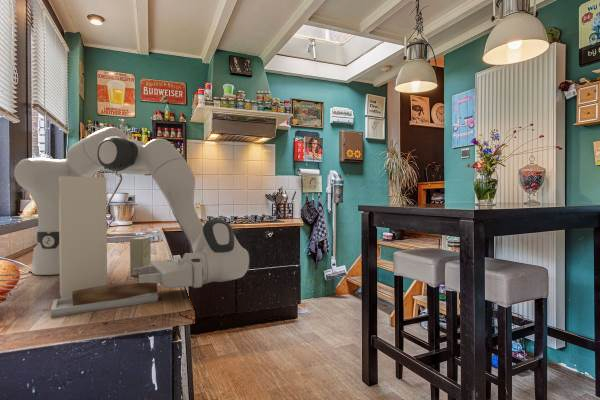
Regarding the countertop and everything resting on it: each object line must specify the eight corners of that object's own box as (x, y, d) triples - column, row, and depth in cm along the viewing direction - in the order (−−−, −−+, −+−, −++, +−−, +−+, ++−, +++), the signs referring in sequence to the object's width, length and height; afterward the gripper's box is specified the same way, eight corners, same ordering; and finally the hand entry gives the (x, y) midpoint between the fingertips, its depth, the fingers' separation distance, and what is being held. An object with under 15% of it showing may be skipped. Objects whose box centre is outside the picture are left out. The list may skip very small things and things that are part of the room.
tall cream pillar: (102, 287, 100) (101, 178, 100) (107, 294, 93) (106, 177, 93) (59, 293, 94) (58, 177, 94) (61, 301, 87) (60, 176, 87)
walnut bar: (155, 289, 92) (154, 276, 92) (157, 291, 89) (156, 279, 89) (73, 304, 83) (72, 290, 82) (73, 308, 80) (72, 294, 80)
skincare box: (143, 275, 115) (142, 238, 115) (129, 275, 115) (129, 238, 115) (151, 271, 121) (151, 236, 121) (138, 271, 121) (138, 236, 121)
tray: (152, 293, 94) (151, 287, 94) (157, 301, 87) (157, 294, 87) (53, 306, 83) (53, 299, 83) (51, 317, 75) (50, 309, 75)
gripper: (182, 252, 104) (131, 257, 97) (202, 263, 86) (141, 269, 79) (183, 273, 104) (131, 280, 97) (202, 288, 87) (141, 297, 79)
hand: (136, 275), depth 88 cm, fingers open, 8 cm apart
